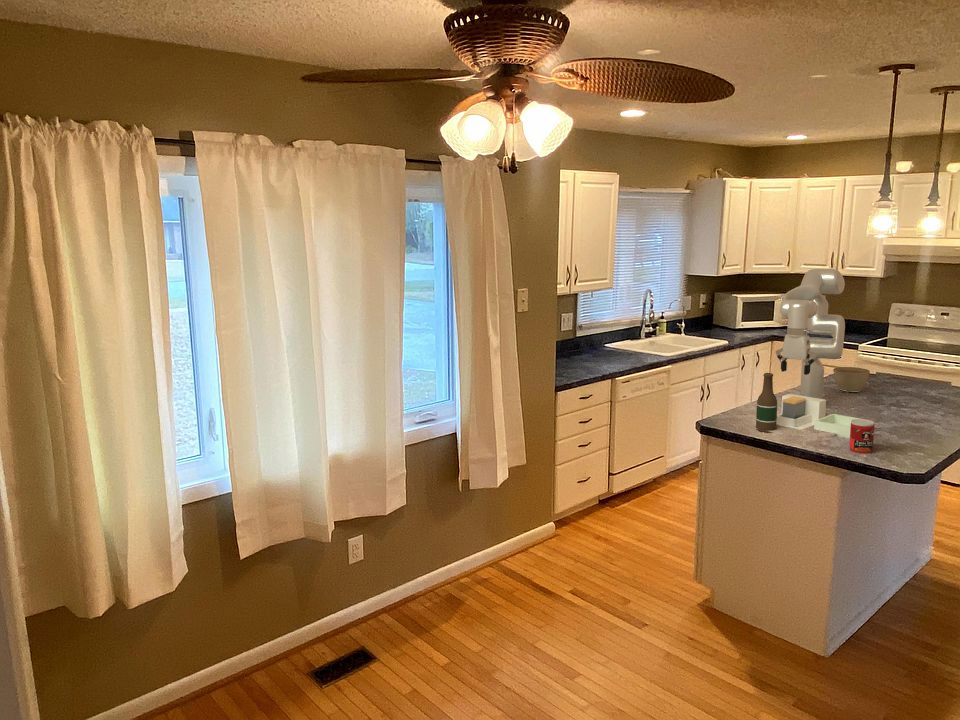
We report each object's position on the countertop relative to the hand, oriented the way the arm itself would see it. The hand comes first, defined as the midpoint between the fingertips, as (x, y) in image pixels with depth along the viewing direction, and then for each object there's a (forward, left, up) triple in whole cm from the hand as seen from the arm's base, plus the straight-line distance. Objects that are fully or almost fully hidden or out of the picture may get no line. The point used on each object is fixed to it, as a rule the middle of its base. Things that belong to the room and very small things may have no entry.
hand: (795, 372), depth 286 cm
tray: (-4, +18, -22) cm, 29 cm away
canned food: (+16, +34, -22) cm, 44 cm away
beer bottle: (+16, -3, -22) cm, 28 cm away
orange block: (0, 0, -21) cm, 21 cm away
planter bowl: (-78, -10, -22) cm, 81 cm away
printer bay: (-2, 0, -22) cm, 22 cm away
